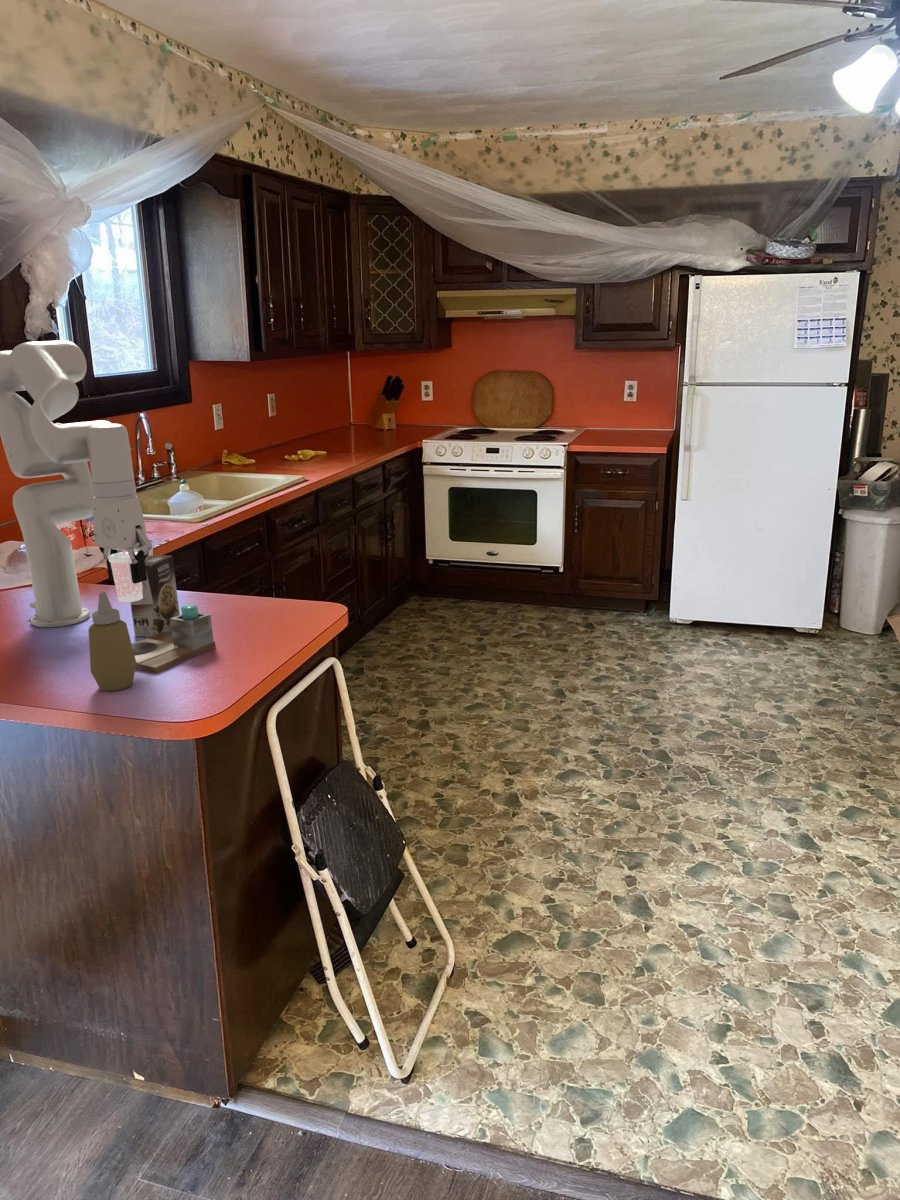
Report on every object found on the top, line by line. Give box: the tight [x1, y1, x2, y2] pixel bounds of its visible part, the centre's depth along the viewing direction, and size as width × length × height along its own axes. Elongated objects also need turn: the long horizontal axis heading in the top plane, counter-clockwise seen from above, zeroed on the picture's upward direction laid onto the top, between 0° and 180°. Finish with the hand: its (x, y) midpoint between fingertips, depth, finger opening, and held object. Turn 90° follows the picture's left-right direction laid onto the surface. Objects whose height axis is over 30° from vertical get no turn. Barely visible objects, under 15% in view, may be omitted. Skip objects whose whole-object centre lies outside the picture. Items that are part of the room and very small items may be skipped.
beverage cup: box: [108, 550, 143, 603], centre depth 176 cm, size 6×6×14 cm
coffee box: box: [129, 554, 181, 638], centre depth 194 cm, size 9×6×16 cm
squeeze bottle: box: [88, 591, 137, 692], centre depth 164 cm, size 8×8×18 cm
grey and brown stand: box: [131, 611, 217, 674], centre depth 181 cm, size 15×16×7 cm
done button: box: [180, 604, 199, 620], centre depth 182 cm, size 3×3×3 cm
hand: (128, 579), depth 177 cm, fingers closed on beverage cup, 6 cm apart
